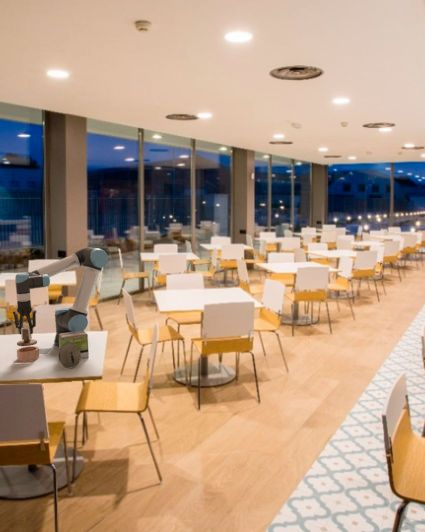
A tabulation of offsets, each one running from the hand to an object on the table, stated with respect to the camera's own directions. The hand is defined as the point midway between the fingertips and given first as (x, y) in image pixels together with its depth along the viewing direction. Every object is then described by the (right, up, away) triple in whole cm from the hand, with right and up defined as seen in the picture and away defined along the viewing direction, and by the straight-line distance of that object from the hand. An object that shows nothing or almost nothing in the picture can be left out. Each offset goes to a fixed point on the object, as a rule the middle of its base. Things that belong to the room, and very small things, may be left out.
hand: (26, 339), depth 322 cm
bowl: (0, -12, +2) cm, 12 cm away
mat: (+3, -10, +15) cm, 18 cm away
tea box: (+27, -11, +2) cm, 30 cm away
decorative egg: (+30, -14, -15) cm, 36 cm away
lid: (0, -3, 0) cm, 3 cm away
